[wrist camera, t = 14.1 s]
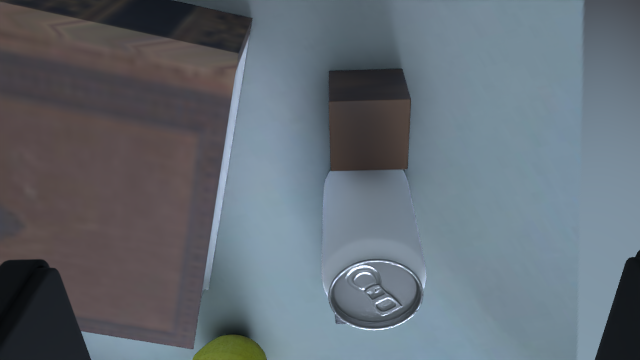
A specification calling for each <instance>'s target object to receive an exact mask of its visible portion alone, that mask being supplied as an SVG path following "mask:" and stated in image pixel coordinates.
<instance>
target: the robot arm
mask: <svg viewBox="0 0 640 360" xmlns="http://www.w3.org/2000/svg"><path fill="white" fill-rule="evenodd" d="M0 360H91V358H90V356H89V353H88V350H87V347H86V344H85V342H84V339H83V336H82V333H81V331H80V328H79V325H78V322H77V320H76V317H75V314H74V311H73V309H72V306H71V303H70V300H69V298H68V295H67V292H66V289H65V287H64V284H63V281H62V278H61V276H60V273H59V271H58V270H57V269H56V268H50V266H49V264H48V263H47V262H46V261H45V260H42V259H20V260H7V261H4V262H3V263H2V264H1V265H0ZM595 360H640V250H639V251H638V252H637V255H636V257H631V258H629V259H628V260H627V261H626V263H625V266H624V270H623V272H622V276H621V279H620V282H619V285H618V288H617V291H616V295H615V298H614V301H613V304H612V308H611V310H610V314H609V317H608V320H607V323H606V326H605V330H604V333H603V336H602V339H601V342H600V346H599V348H598V352H597V355H596V358H595Z"/></svg>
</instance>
